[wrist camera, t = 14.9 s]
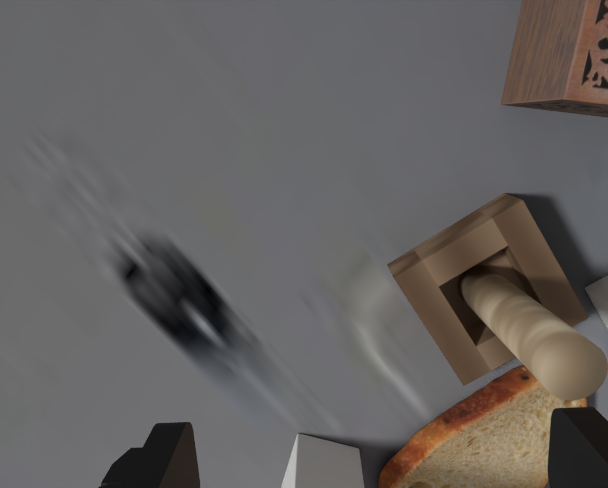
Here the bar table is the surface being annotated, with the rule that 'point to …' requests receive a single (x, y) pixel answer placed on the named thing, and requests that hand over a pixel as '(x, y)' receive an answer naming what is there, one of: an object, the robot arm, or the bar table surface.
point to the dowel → (535, 335)
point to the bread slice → (483, 440)
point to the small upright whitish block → (600, 297)
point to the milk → (323, 465)
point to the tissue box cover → (560, 57)
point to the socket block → (497, 255)
